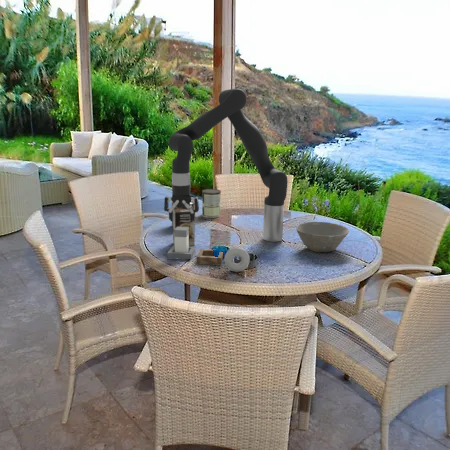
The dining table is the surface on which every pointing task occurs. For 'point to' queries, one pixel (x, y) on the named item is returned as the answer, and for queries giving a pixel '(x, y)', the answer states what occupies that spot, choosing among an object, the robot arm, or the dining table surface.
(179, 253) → the grey square frame
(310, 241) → the ceramic bowl
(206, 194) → the coffee can
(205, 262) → the walnut socket
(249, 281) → the dining table surface
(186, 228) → the plug block
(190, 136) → the robot arm
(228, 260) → the donut
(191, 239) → the coffee box
